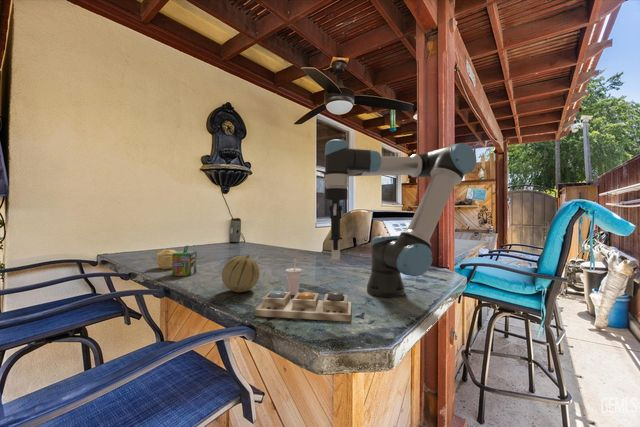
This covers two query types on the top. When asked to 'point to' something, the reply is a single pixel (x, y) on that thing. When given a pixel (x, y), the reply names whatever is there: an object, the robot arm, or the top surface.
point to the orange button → (306, 295)
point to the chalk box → (184, 263)
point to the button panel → (304, 308)
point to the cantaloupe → (240, 274)
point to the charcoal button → (335, 296)
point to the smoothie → (293, 279)
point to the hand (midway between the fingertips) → (335, 259)
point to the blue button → (277, 294)
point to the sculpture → (165, 259)
